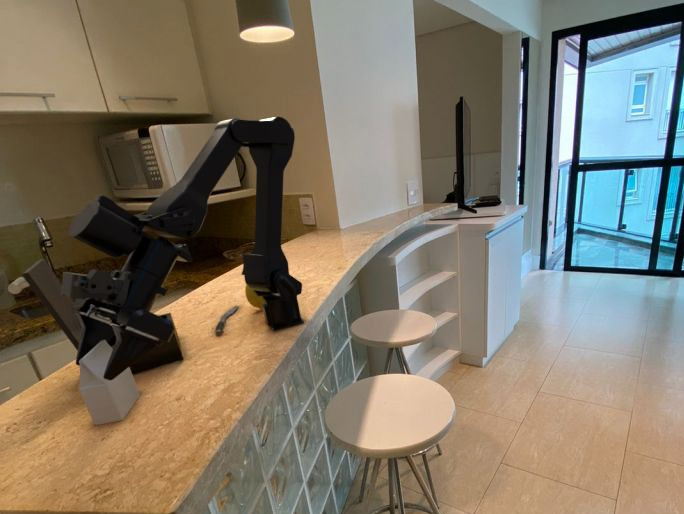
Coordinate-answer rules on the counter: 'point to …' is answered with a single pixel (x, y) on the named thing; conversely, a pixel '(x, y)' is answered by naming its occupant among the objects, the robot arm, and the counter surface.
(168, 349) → the black open box
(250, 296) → the lemon
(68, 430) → the counter surface
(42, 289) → the box lid
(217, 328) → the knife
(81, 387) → the grey angular block
